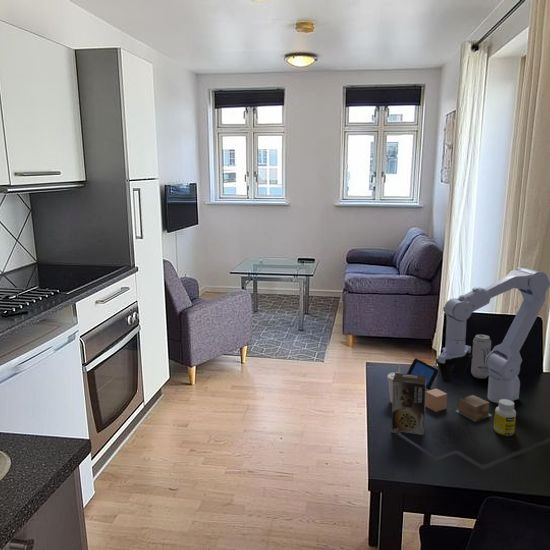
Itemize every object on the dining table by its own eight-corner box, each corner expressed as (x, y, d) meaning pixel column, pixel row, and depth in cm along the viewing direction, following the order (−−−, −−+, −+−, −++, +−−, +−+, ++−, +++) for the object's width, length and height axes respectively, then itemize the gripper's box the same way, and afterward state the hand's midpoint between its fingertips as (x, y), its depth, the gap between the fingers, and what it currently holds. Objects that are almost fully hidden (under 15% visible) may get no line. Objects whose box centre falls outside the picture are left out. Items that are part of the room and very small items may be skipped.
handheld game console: (390, 382, 178) (390, 362, 176) (414, 376, 182) (415, 357, 180) (412, 396, 166) (413, 375, 165) (438, 390, 171) (439, 369, 169)
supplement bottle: (505, 440, 138) (508, 408, 136) (489, 432, 143) (491, 400, 141) (518, 435, 140) (521, 403, 138) (501, 427, 145) (504, 396, 143)
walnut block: (472, 406, 156) (473, 394, 155) (488, 414, 151) (489, 402, 150) (458, 411, 153) (459, 399, 152) (474, 419, 148) (475, 407, 147)
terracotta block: (435, 402, 159) (436, 388, 158) (446, 408, 155) (447, 393, 154) (425, 406, 157) (425, 391, 156) (435, 412, 153) (436, 397, 152)
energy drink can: (480, 380, 177) (482, 340, 174) (467, 374, 183) (469, 335, 180) (492, 377, 180) (495, 337, 177) (479, 371, 185) (482, 332, 182)
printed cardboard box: (424, 426, 146) (427, 375, 143) (423, 437, 140) (426, 384, 137) (393, 422, 149) (394, 371, 146) (390, 432, 143) (392, 380, 140)
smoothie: (407, 409, 157) (408, 367, 154) (386, 408, 158) (387, 366, 155) (406, 400, 163) (407, 360, 160) (386, 399, 164) (387, 359, 161)
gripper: (457, 329, 161) (455, 369, 164) (430, 339, 152) (428, 380, 155) (477, 335, 155) (475, 375, 158) (450, 345, 147) (448, 388, 150)
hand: (453, 378), depth 156 cm, fingers open, 7 cm apart
